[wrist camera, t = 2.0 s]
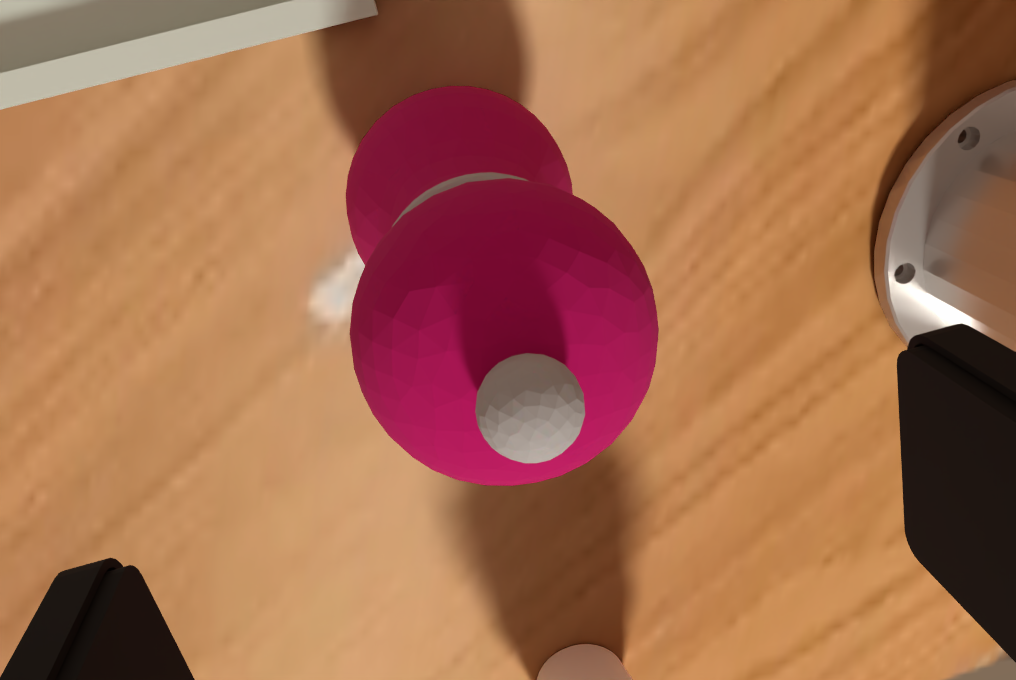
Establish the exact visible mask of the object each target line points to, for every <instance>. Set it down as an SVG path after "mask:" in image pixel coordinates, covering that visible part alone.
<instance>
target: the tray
mask: <svg viewBox="0 0 1016 680" xmlns="http://www.w3.org/2000/svg"><path fill="white" fill-rule="evenodd" d="M375 15H378V10H377V6H376V2H375V0H0V109H4V108H8V107H12V106H16V105H20V104H24V103H28V102H32V101H36V100H40V99H44V98H48V97H52V96H56V95H60V94H64V93H68V92H72V91H76V90H80V89H84V88H88V87H92V86H96V85H100V84H104V83H108V82H112V81H116V80H120V79H124V78H128V77H132V76H136V75H140V74H144V73H148V72H152V71H156V70H160V69H164V68H168V67H172V66H176V65H180V64H184V63H188V62H192V61H195V60H199V59H203V58H207V57H211V56H215V55H219V54H223V53H227V52H231V51H235V50H239V49H243V48H247V47H251V46H255V45H259V44H263V43H267V42H271V41H275V40H279V39H283V38H287V37H291V36H295V35H299V34H303V33H307V32H311V31H315V30H319V29H323V28H327V27H331V26H335V25H339V24H343V23H347V22H351V21H355V20H359V19H363V18H367V17H371V16H375Z"/></svg>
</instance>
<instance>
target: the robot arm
mask: <svg viewBox="0 0 1016 680" xmlns="http://www.w3.org/2000/svg"><path fill="white" fill-rule="evenodd" d="M874 279H875V284H876V288H877V293H878V298H879V302H880V305H881V307H882V310H883V312H884V314H885V316H886V318H887V320H888V322H889V325H890V327H891V328H892V329H893V330H894V332H895V333H896V334H897V335H898V337H899V338H900V339H901V340H902V342H903V343H904V344H905V345H906V346H907V347H908V348H907V350H905V351H902V352H901V353H900V354H899V356H898V359H897V377H898V398H899V419H900V440H901V461H902V482H903V503H904V524H905V534H906V538H907V541H908V544H909V546H910V549H911V551H912V552H913V554H914V556H915V557H916V558H917V560H918V561H919V562H920V563H921V564H922V565H923V566H924V567H925V568H926V569H927V570H928V571H929V572H930V573H931V575H932V576H933V577H934V578H935V579H936V580H937V581H938V582H939V583H940V584H941V585H942V586H943V587H944V588H945V589H946V590H947V591H948V592H949V593H950V594H951V595H952V596H953V597H954V599H955V600H956V601H957V602H958V603H959V604H960V605H961V606H962V607H963V608H964V609H965V610H966V611H967V612H968V613H969V614H970V615H971V616H972V617H973V618H974V619H975V620H976V622H977V623H978V624H979V625H980V626H981V627H982V628H983V629H984V630H985V631H986V632H987V633H988V634H989V635H990V636H991V637H992V638H993V639H994V640H995V641H996V642H997V643H998V644H999V646H1000V647H1001V648H1002V649H1003V650H1004V651H1005V652H1006V653H1007V654H1008V655H1009V656H1010V657H1011V658H1012V659H1013V660H1014V661H1015V662H1016V80H1012V81H1009V82H1006V83H1004V84H1002V85H999V86H997V87H995V88H993V89H991V90H989V91H987V92H984V93H982V94H980V95H978V96H977V97H975V98H974V99H972V100H971V101H969V102H968V103H966V104H965V105H963V106H962V107H961V108H959V109H958V110H956V111H955V112H953V113H952V114H950V115H949V116H948V117H947V118H946V119H945V120H944V121H943V122H942V123H941V124H940V125H939V126H938V127H937V128H936V129H935V130H934V131H933V132H931V133H930V134H929V135H928V136H927V137H926V138H925V140H924V141H923V142H922V144H921V145H920V146H919V147H918V149H917V150H916V151H915V153H914V154H913V155H912V156H911V158H910V159H909V160H908V162H907V163H906V164H905V166H904V168H903V170H902V172H901V173H900V175H899V177H898V179H897V181H896V182H895V184H894V186H893V188H892V190H891V191H890V194H889V196H888V199H887V202H886V205H885V207H884V210H883V213H882V216H881V219H880V221H879V226H878V232H877V238H876V243H875V249H874ZM0 680H194V678H193V676H192V674H191V672H190V670H189V668H188V666H187V664H186V662H185V660H184V658H183V656H182V654H181V652H180V650H179V648H178V646H177V644H176V642H175V640H174V638H173V636H172V634H171V632H170V630H169V628H168V626H167V624H166V622H165V620H164V618H163V616H162V614H161V612H160V610H159V608H158V606H157V604H156V602H155V600H154V598H153V596H152V594H151V592H150V590H149V588H148V586H147V584H146V582H145V580H144V578H143V576H142V575H141V573H140V572H139V570H138V569H137V568H136V567H135V566H131V565H129V566H126V567H123V566H122V564H121V563H120V562H119V561H117V560H116V559H113V558H108V559H105V560H101V561H97V562H94V563H90V564H86V565H83V566H79V567H76V568H72V569H68V570H65V571H62V572H60V573H59V574H58V575H57V576H56V578H55V579H54V581H53V582H52V584H51V586H50V588H49V590H48V592H47V593H46V595H45V597H44V599H43V601H42V602H41V604H40V606H39V608H38V610H37V612H36V613H35V615H34V617H33V619H32V621H31V622H30V624H29V626H28V628H27V630H26V632H25V633H24V635H23V637H22V639H21V641H20V642H19V644H18V646H17V648H16V650H15V652H14V653H13V655H12V657H11V659H10V661H9V662H8V664H7V666H6V668H5V670H4V672H3V673H2V675H1V677H0Z"/></svg>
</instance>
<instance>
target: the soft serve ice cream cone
mask: <svg viewBox="0 0 1016 680" xmlns="http://www.w3.org/2000/svg"><path fill="white" fill-rule="evenodd" d="M537 680H633V679H632V678H631V676H630V675H629V673H628V672H627V670H626V669H625V667H624V666H623V664H622V663H621V661H620V660H619V658H618V657H617V656H616V655H615V654H614V653H613V652H611V651H610V650H608V649H606V648H604V647H601V646H598V645H592V644H579V645H574V646H570V647H567V648H564V649H562V650H560V651H559V652H557V653H555V654H554V655H553V656H551V657H550V658H549V659H548V660H547V661H546V662H545V663H544V665H543V666H542V668H541V670H540V671H539V674H538V677H537Z"/></svg>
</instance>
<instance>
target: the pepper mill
mask: <svg viewBox="0 0 1016 680" xmlns="http://www.w3.org/2000/svg"><path fill="white" fill-rule="evenodd" d="M346 206H347V216H348V220H349V225H350V230H351V234H352V238H353V241H354V243H355V246H356V249H357V251H358V254H359V255H360V257H361V259H362V261H363V262H364V264H365V268H364V270H363V273H362V275H361V278H360V280H359V284H358V287H357V290H356V294H355V297H354V300H353V304H352V315H351V326H350V339H351V347H352V355H353V363H354V370H355V373H356V376H357V379H358V382H359V385H360V388H361V391H362V393H363V395H364V397H365V399H366V401H367V403H368V405H369V407H370V409H371V411H372V413H373V415H374V416H375V417H376V419H377V420H378V422H379V423H380V424H381V426H382V427H383V428H384V430H385V431H386V432H387V434H388V435H389V436H390V437H391V438H392V439H393V440H394V441H395V442H396V443H398V444H399V445H400V446H401V447H402V448H403V449H404V450H405V451H406V452H408V453H409V454H410V455H411V456H412V457H413V458H415V459H416V460H418V461H420V462H421V463H423V464H424V465H426V466H427V467H429V468H431V469H432V470H434V471H437V472H439V473H442V474H444V475H447V476H449V477H452V478H454V479H456V480H461V481H466V482H471V483H476V484H481V485H500V486H514V485H521V484H528V483H536V482H540V481H544V480H547V479H551V478H555V477H558V476H561V475H563V474H565V473H568V472H570V471H572V470H574V469H576V468H578V467H580V466H582V465H584V464H586V463H587V462H589V461H590V460H591V459H593V458H594V457H595V456H596V455H598V454H599V453H600V452H602V451H603V450H604V449H606V448H607V447H608V446H610V445H611V444H612V443H613V442H614V440H615V439H616V438H617V437H618V436H619V435H620V433H621V432H622V431H623V430H624V429H625V428H626V426H627V425H628V424H629V423H630V422H631V420H632V419H633V417H634V415H635V413H636V412H637V410H638V408H639V406H640V404H641V403H642V401H643V399H644V397H645V395H646V393H647V391H648V389H649V386H650V382H651V378H652V375H653V371H654V367H655V362H656V352H657V342H658V330H659V329H658V320H657V311H656V305H655V300H654V294H653V289H652V286H651V284H650V281H649V278H648V276H647V273H646V270H645V268H644V265H643V264H642V262H641V260H640V259H639V257H638V255H637V254H636V252H635V250H634V249H633V247H632V246H631V244H630V243H629V242H628V241H627V239H626V238H625V237H624V236H623V234H622V233H621V232H620V230H619V229H618V228H617V227H616V225H615V224H614V223H613V222H612V221H610V220H609V219H608V218H607V217H606V216H604V215H603V214H602V213H601V212H600V211H598V210H597V209H596V208H595V207H593V206H591V205H590V204H588V203H587V202H585V201H584V200H582V199H580V198H578V197H576V196H574V195H573V193H572V183H571V179H570V175H569V171H568V167H567V164H566V162H565V160H564V158H563V155H562V153H561V151H560V149H559V147H558V145H557V144H556V142H555V140H554V139H553V137H552V136H551V134H550V133H549V131H548V130H547V128H546V127H545V126H544V125H543V124H542V123H541V122H540V121H539V120H538V119H537V117H536V116H535V115H534V114H532V113H531V112H530V111H528V110H527V109H526V108H525V107H523V106H522V105H521V104H519V103H517V102H516V101H514V100H512V99H510V98H508V97H506V96H505V95H502V94H499V93H496V92H493V91H491V90H488V89H483V88H477V87H471V86H447V87H440V88H434V89H430V90H427V91H424V92H421V93H418V94H415V95H413V96H411V97H409V98H407V99H405V100H403V101H402V102H400V103H398V104H396V105H395V106H393V107H392V108H391V109H390V110H388V111H387V112H386V113H385V114H384V115H383V116H382V117H380V118H379V119H378V120H377V121H376V122H375V123H374V125H373V126H372V127H371V129H370V130H369V131H368V132H367V134H366V135H365V136H364V138H363V139H362V141H361V143H360V145H359V147H358V149H357V151H356V153H355V155H354V157H353V160H352V163H351V167H350V170H349V174H348V180H347V189H346Z"/></svg>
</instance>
